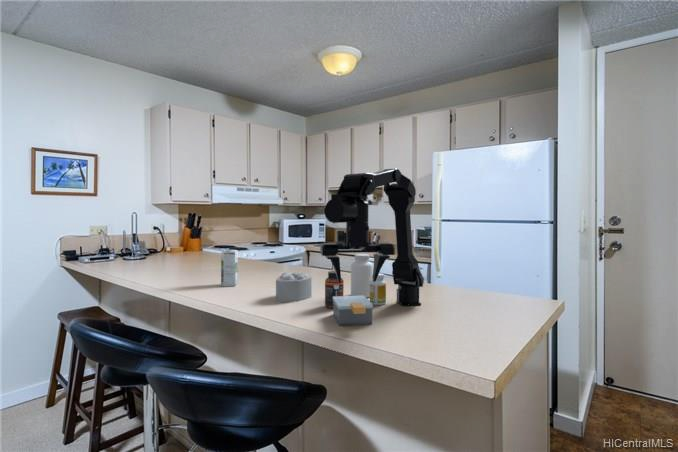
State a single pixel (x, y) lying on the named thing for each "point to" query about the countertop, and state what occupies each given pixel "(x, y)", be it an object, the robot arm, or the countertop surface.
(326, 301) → the supplement bottle
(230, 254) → the syrup box
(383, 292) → the supplement bottle
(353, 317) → the tub
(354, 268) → the pill bottle
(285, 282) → the lumpy-topped squat cylinder
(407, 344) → the countertop surface
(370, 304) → the lid
